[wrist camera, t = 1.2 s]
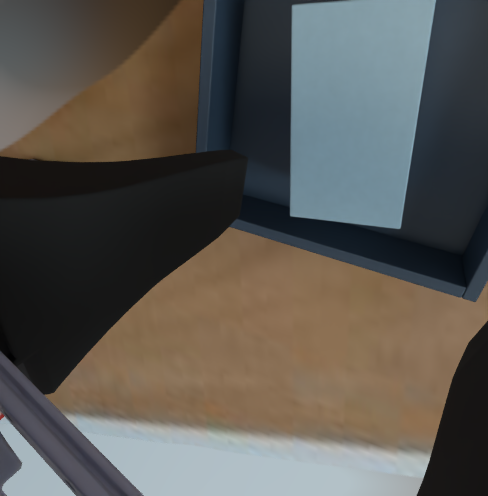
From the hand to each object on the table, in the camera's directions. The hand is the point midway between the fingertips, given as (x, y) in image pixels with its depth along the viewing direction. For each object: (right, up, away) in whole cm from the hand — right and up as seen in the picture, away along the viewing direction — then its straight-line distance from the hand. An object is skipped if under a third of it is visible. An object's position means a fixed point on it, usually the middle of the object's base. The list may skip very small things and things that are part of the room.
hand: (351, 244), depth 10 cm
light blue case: (+3, +6, +8) cm, 11 cm away
